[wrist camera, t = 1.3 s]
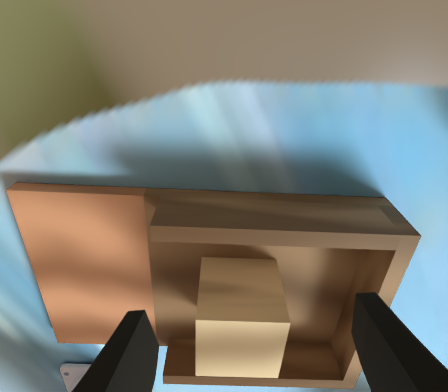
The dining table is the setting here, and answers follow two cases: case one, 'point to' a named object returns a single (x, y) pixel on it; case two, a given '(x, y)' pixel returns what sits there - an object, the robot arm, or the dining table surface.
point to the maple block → (240, 318)
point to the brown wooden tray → (211, 247)
